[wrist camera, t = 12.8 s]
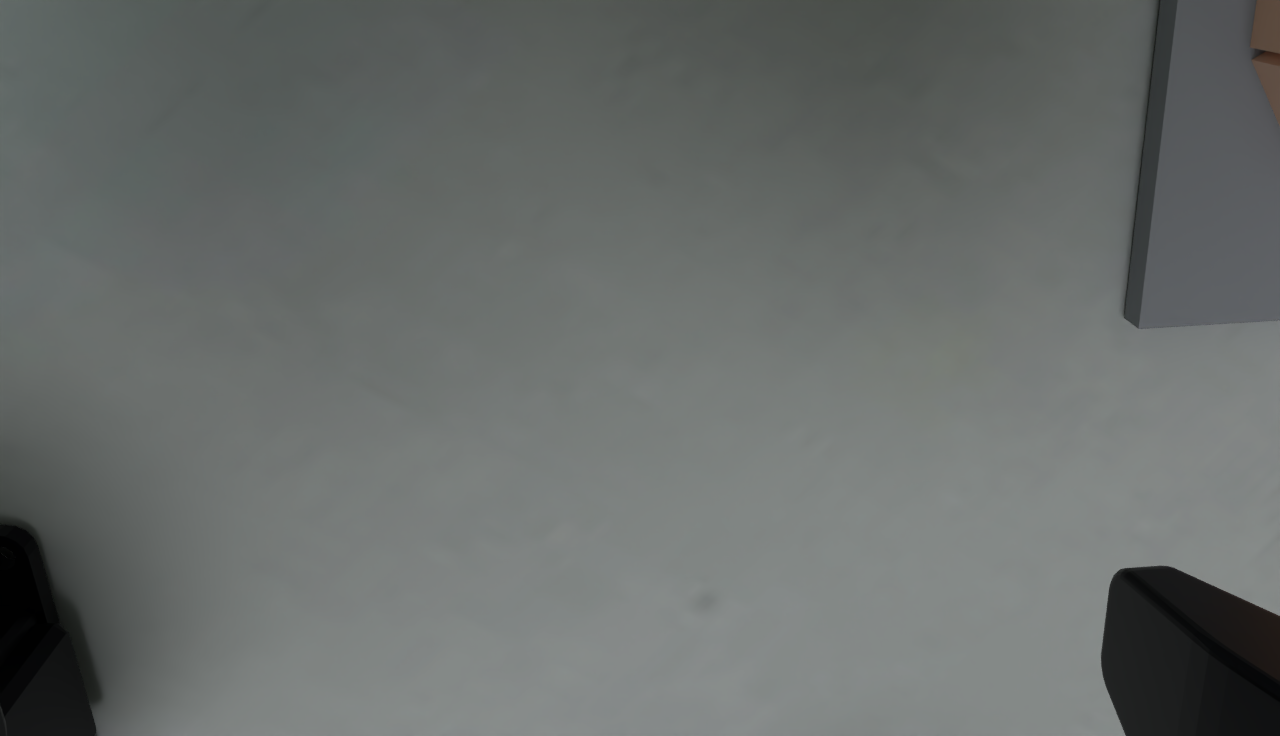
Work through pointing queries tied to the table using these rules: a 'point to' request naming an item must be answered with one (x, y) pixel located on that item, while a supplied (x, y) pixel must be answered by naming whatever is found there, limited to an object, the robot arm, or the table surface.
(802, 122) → the table surface
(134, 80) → the table surface
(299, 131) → the table surface
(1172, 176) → the ring seat
